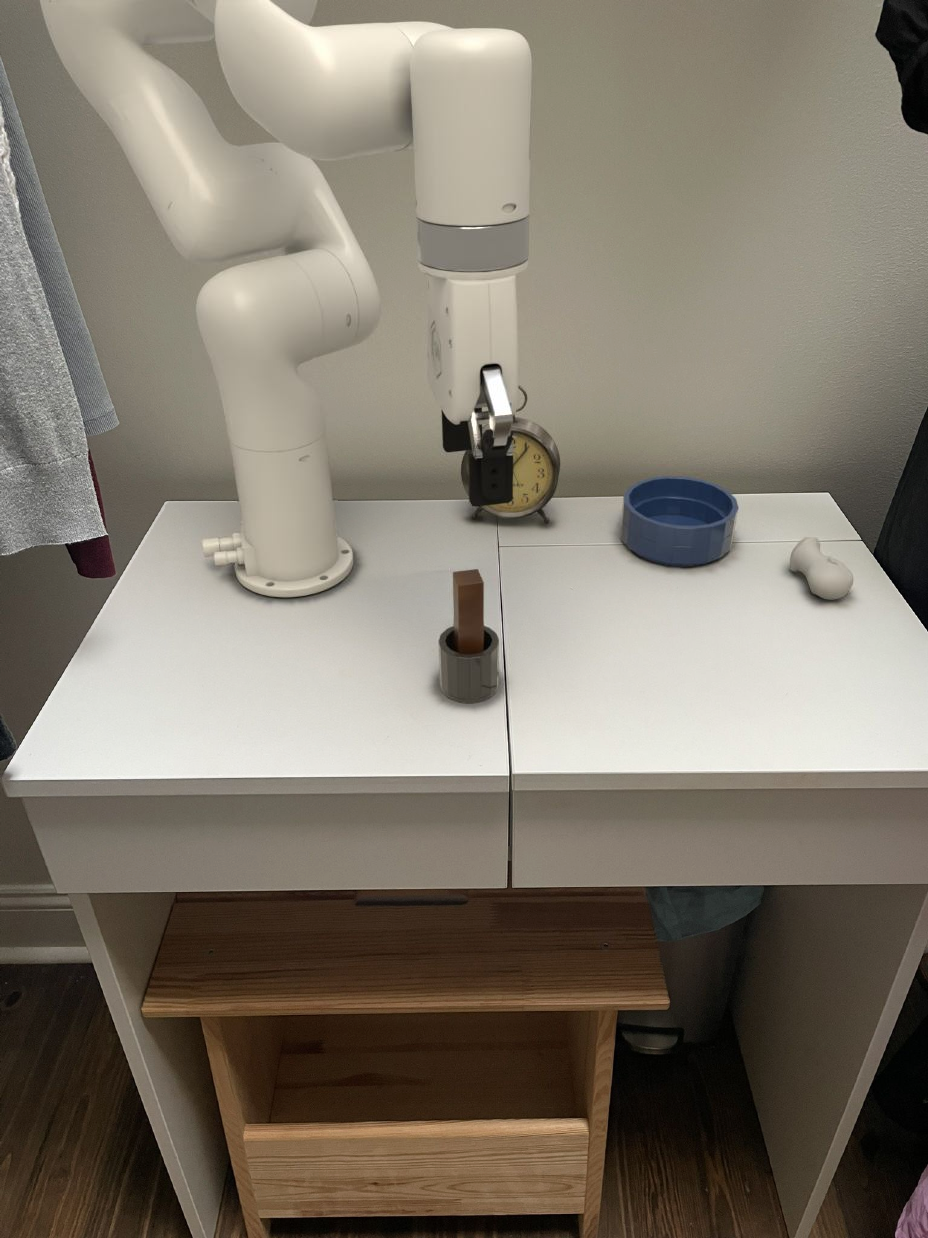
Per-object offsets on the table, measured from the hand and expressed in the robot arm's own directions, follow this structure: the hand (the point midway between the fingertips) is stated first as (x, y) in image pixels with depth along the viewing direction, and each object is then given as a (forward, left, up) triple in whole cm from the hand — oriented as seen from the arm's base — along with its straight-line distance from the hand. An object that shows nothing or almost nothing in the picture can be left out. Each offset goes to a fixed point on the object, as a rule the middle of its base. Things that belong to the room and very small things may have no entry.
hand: (475, 474), depth 73 cm
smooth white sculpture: (+38, +8, -21) cm, 44 cm away
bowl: (+27, +20, -21) cm, 40 cm away
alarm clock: (+11, +30, -21) cm, 38 cm away
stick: (-1, 0, -20) cm, 20 cm away
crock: (-1, 0, -21) cm, 21 cm away
